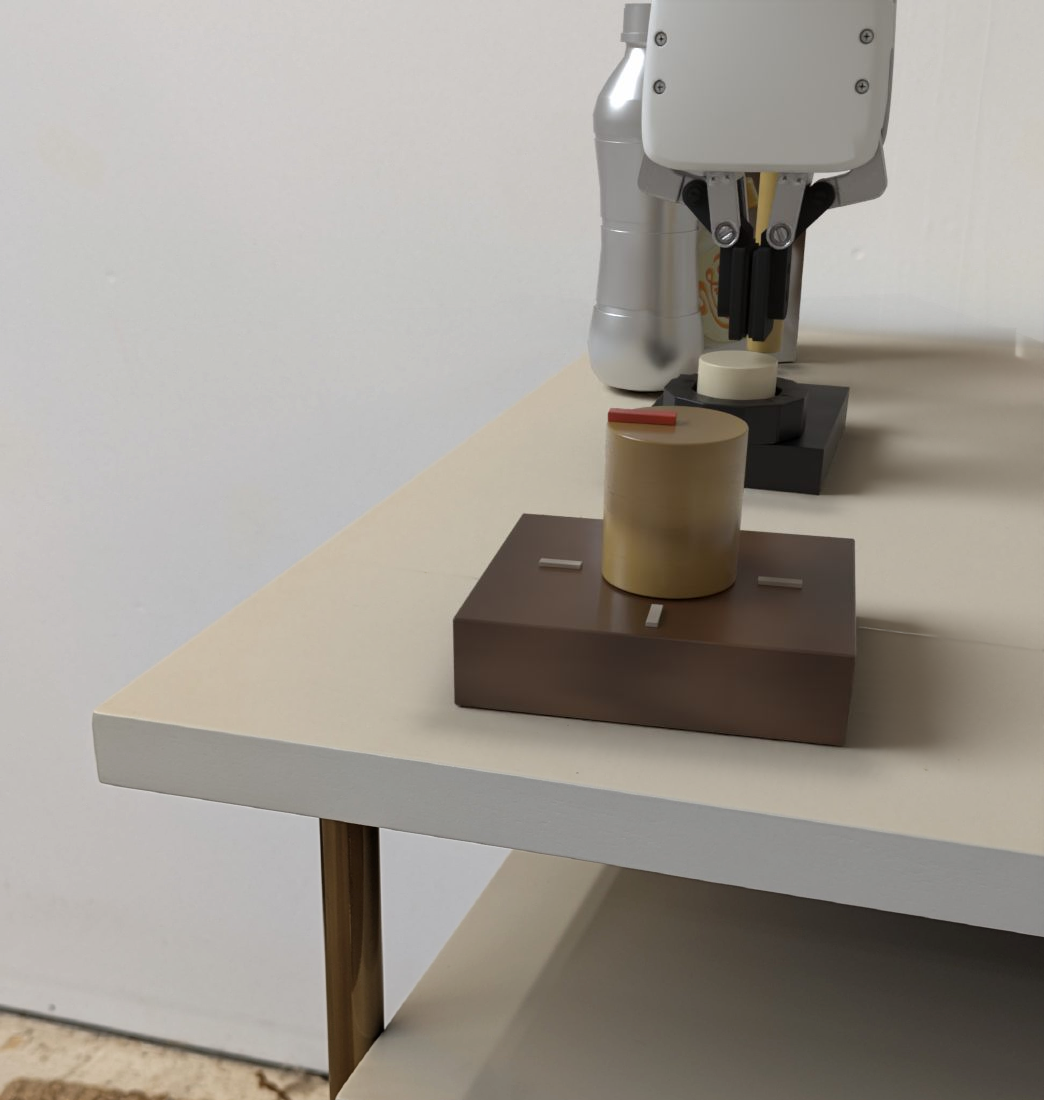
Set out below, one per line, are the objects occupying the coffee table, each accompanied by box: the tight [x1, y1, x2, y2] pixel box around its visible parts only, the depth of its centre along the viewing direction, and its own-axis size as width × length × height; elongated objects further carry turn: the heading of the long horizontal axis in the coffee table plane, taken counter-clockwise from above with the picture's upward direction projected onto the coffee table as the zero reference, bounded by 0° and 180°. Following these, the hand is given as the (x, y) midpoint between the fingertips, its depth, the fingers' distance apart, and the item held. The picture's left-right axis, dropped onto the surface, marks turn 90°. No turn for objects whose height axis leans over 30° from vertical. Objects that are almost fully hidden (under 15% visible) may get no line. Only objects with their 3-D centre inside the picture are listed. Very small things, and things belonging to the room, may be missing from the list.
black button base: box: [650, 373, 851, 496], centre depth 65 cm, size 13×9×4 cm
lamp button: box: [697, 350, 779, 400], centre depth 62 cm, size 4×4×2 cm
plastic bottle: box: [587, 2, 706, 393], centre depth 73 cm, size 6×7×20 cm
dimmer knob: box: [601, 406, 749, 599], centre depth 42 cm, size 4×4×5 cm
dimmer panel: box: [452, 512, 857, 747], centre depth 44 cm, size 12×10×3 cm
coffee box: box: [698, 172, 807, 363], centre depth 82 cm, size 9×6×16 cm
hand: (751, 334), depth 61 cm, fingers closed
